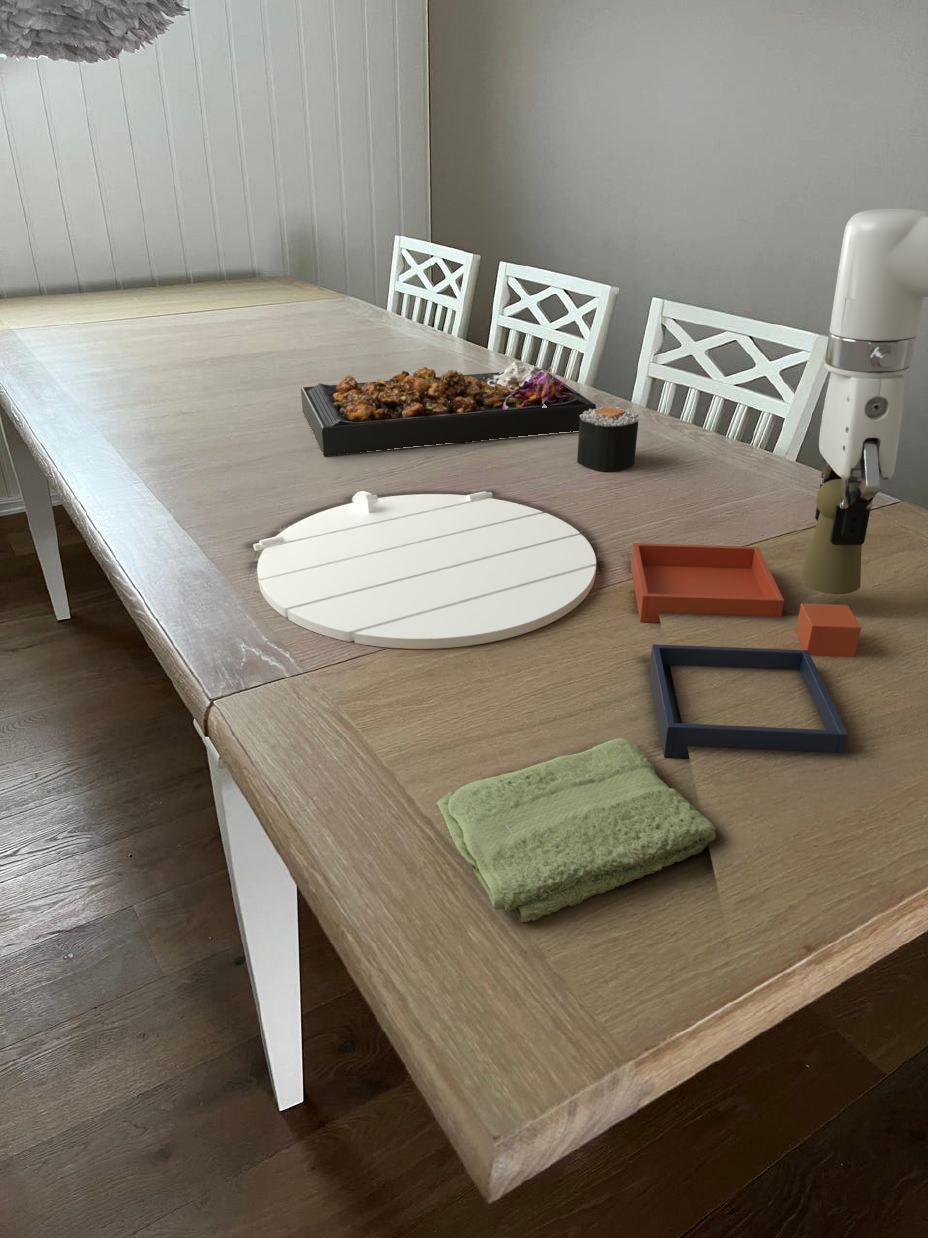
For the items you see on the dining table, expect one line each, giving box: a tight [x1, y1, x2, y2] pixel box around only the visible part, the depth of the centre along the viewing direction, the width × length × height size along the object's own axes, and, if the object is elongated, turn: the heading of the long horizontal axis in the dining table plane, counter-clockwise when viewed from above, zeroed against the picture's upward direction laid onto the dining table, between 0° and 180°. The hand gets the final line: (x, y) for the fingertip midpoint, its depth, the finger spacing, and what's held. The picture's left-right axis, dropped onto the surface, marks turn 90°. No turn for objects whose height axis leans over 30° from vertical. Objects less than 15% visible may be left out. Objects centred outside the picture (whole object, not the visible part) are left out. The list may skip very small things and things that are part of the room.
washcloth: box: [435, 737, 717, 923], centre depth 67 cm, size 13×18×3 cm
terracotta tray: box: [630, 542, 785, 624], centre depth 101 cm, size 14×13×3 cm
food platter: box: [300, 360, 597, 457], centre depth 155 cm, size 45×25×10 cm, turn 106°
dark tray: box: [648, 643, 849, 759], centre depth 81 cm, size 14×13×3 cm
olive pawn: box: [799, 479, 863, 595], centre depth 95 cm, size 6×6×11 cm
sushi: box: [576, 405, 640, 472], centre depth 137 cm, size 8×8×8 cm
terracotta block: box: [794, 603, 862, 658], centre depth 89 cm, size 4×4×4 cm
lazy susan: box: [252, 490, 597, 650], centre depth 108 cm, size 40×39×3 cm
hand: (838, 530), depth 95 cm, fingers closed on olive pawn, 5 cm apart
